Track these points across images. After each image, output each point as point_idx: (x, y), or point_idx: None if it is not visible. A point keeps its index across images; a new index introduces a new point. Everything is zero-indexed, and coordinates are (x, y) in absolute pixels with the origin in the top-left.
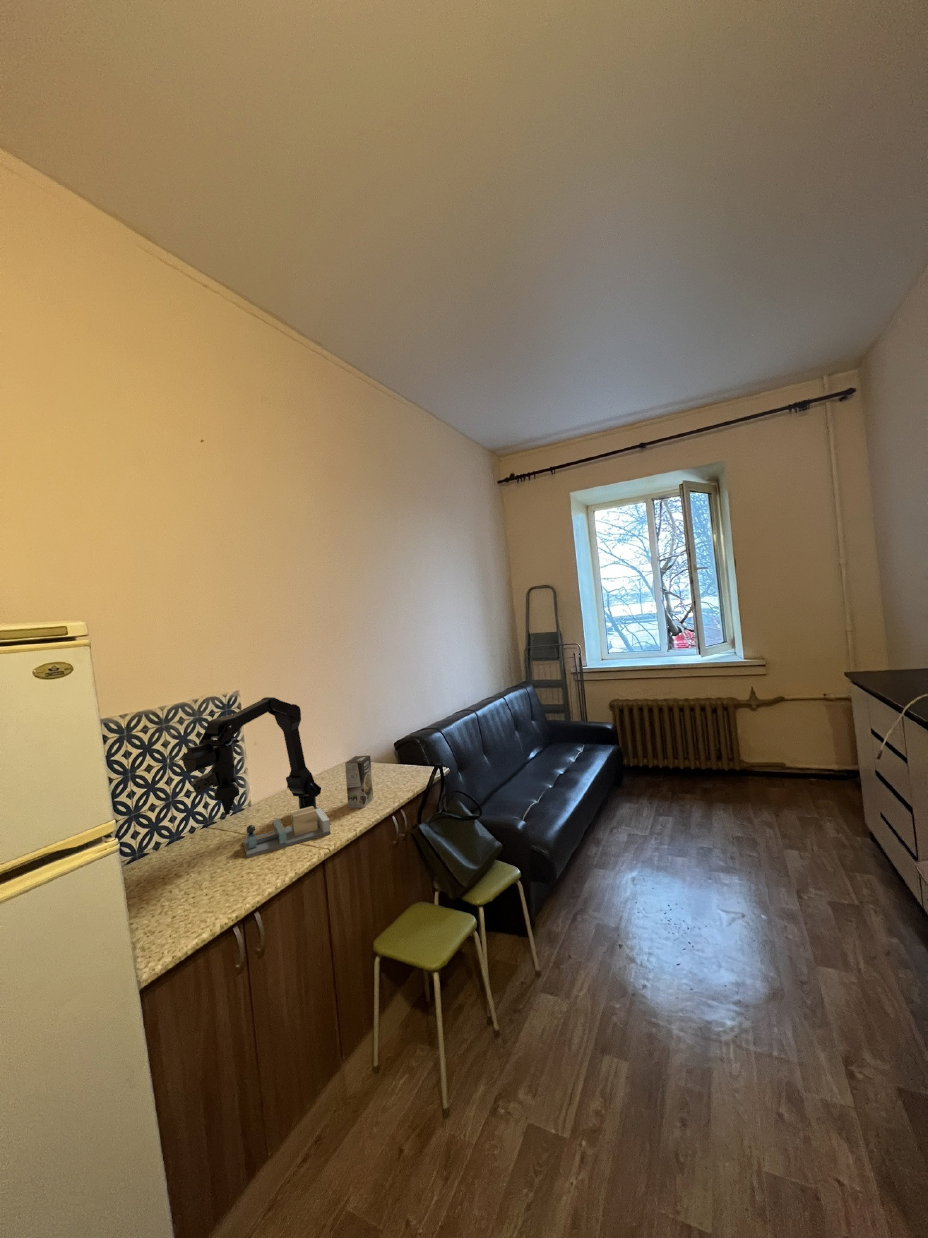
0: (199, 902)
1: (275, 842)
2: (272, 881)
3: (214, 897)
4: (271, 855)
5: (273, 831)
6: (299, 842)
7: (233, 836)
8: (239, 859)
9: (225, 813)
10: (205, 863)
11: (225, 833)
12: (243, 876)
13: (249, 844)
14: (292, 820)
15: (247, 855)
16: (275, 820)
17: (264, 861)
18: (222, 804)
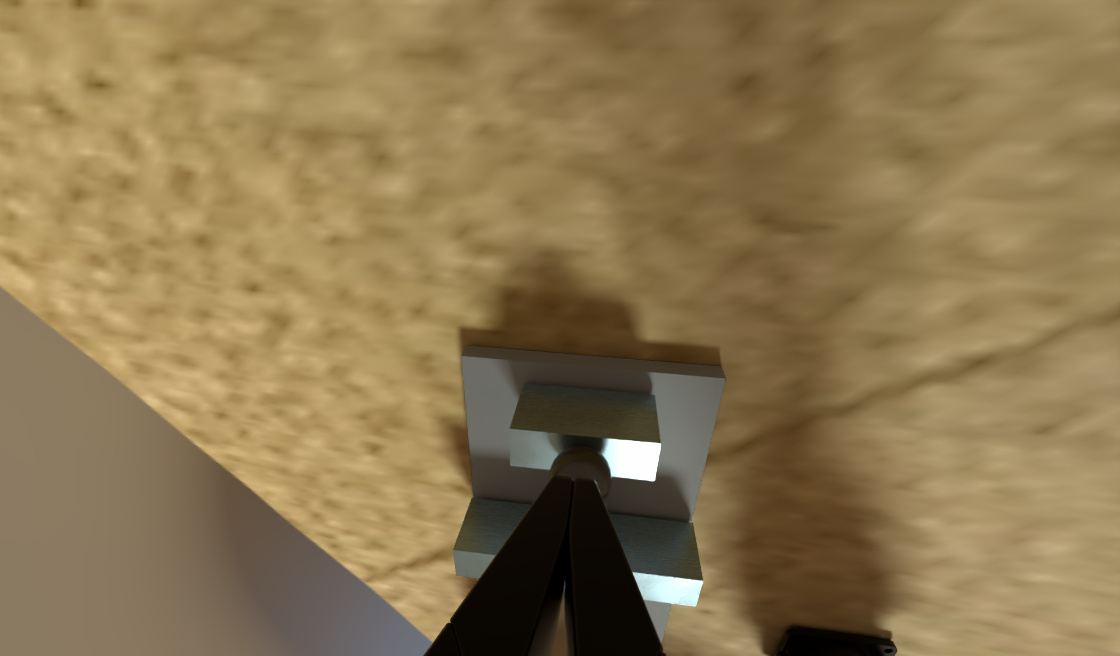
0: (10, 34)
1: (521, 489)
2: (152, 383)
3: (54, 126)
4: (424, 437)
5: (688, 517)
6: None
7: (911, 338)
8: (479, 309)
9: (540, 494)
10: (571, 107)
11: (1051, 301)
12: (249, 292)
13: (520, 400)
14: (559, 637)
15: (463, 355)
16: (682, 588)
17: (373, 400)
18: (425, 653)
